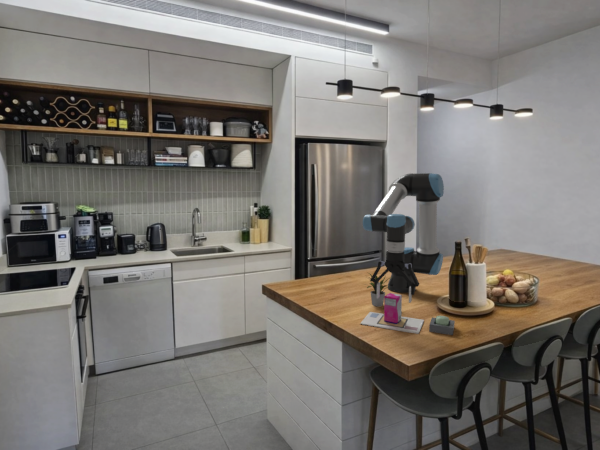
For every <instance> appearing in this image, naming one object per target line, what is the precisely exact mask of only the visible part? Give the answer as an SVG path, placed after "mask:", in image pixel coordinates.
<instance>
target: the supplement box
mask: <svg viewBox="0 0 600 450" xmlns="http://www.w3.org/2000/svg"><path fill="white" fill-rule="evenodd" d="M402 297H403V296H402V294H398V293H391V292H389V293H387V294H385V296H384V302H383V305H384V306H383V307H384V308H383V310H384V311H383V312H384V313H383V314H384V322H389V323H393V324H397V323H399V322H400V321H401V316H402V305H403V304H402V303H403V302H402V300H403V298H402Z"/></svg>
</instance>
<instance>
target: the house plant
mask: <svg viewBox="0 0 600 450" xmlns="http://www.w3.org/2000/svg"><path fill="white" fill-rule="evenodd" d="M367 273H368V274H369V275H370V277H369V276H367V275H366V278H369V280H370V279H371V278H372V276H373V274H371V273H370V272H367ZM380 275H381V274H379V276H380ZM379 276H378V274H377V275H376V277H375V279H377V278H378V277H379ZM390 277H391V276H390ZM390 277H388V278H387V279H386V275H384V276H383V279H382V280H379V281H378V282H380V297H379V298H378V299H377V290H375V289H374V287H375V283H374V282H372V281H370V283H369V285H367V284H363V285H366V286H367V287H366V289H369V288H370V289H372V290H371V291H370V298H371V305H372V306H374V307H382V306H383V305H384V296H386V292H385V291H384V290H386V289H388V288H390V287H388V284H387V285H385V283H386V282H387V281H389V280H390ZM391 278H392V277H391ZM385 279H386V280H385ZM384 280H385V281H384ZM383 307H384V306H383Z"/></svg>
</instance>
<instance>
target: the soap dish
mask: <svg viewBox="0 0 600 450" xmlns="http://www.w3.org/2000/svg"><path fill="white" fill-rule="evenodd" d="M455 321H456V320H453V319H449V326H445V325H439V324H436V317H431V319H430V322H429V326H428V327H429V329H428V330H429V331H428V332H429V333H437V334H441V335H442V334H444V335H450V336H453V335H454V332H455V331H454V330H455Z"/></svg>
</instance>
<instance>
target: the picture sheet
mask: <svg viewBox="0 0 600 450" xmlns="http://www.w3.org/2000/svg"><path fill="white" fill-rule="evenodd" d="M424 322H425V319H421V318H414V317H408V316H402V315H401V321H400V322H399V323H397V324H393V323H389V322H384V313H383V312H382V313H381V312H380V313H379V312H375V311H374V312H373V311H369V312H368V313H367V315H366V316H365V317H364V318H363V319H362V320H361V322H360V323H359V325H361V324H362V326H367V325H368V326H370V327H373V326H374V328H380V329H387V330H393V331H398V332H404V333H410V334H411V333H412V334H416V335H419V334H420V332H421V329H422V327H423V325H424ZM368 326H367V327H368Z"/></svg>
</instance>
